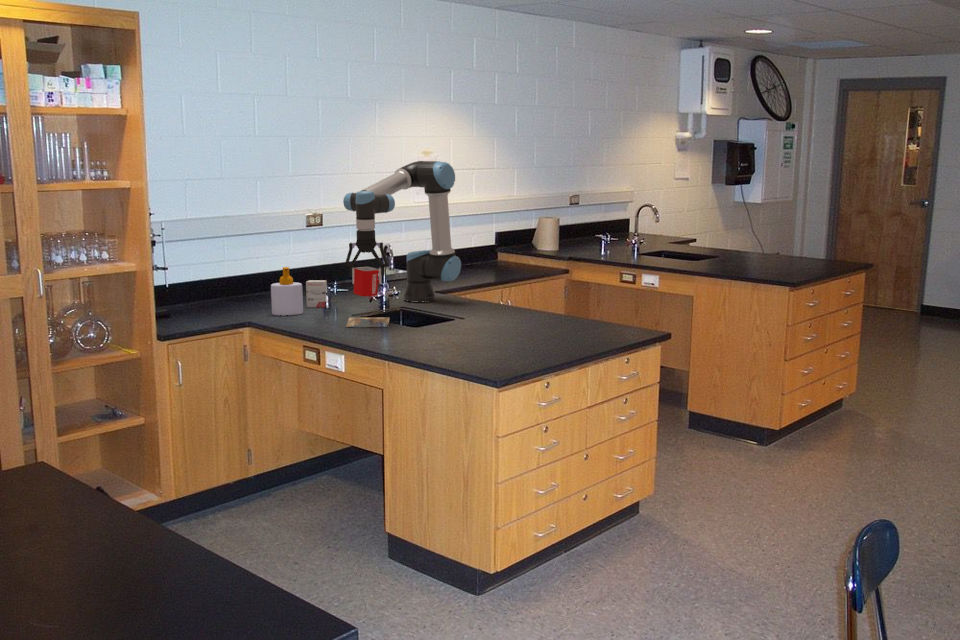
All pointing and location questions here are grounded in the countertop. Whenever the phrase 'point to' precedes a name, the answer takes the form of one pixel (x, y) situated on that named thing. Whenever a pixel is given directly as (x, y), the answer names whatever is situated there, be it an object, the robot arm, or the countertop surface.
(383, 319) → the coaster board
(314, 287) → the ink box
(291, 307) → the soap bottle
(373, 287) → the mug
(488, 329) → the countertop surface
